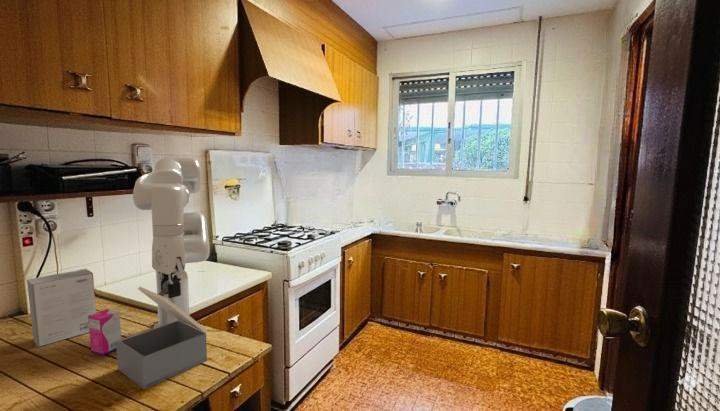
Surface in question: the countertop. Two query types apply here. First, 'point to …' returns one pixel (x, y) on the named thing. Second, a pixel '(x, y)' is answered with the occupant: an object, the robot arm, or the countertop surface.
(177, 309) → the flap
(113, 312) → the supplement box
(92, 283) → the hard drive box
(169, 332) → the grey storage box
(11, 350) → the countertop surface
